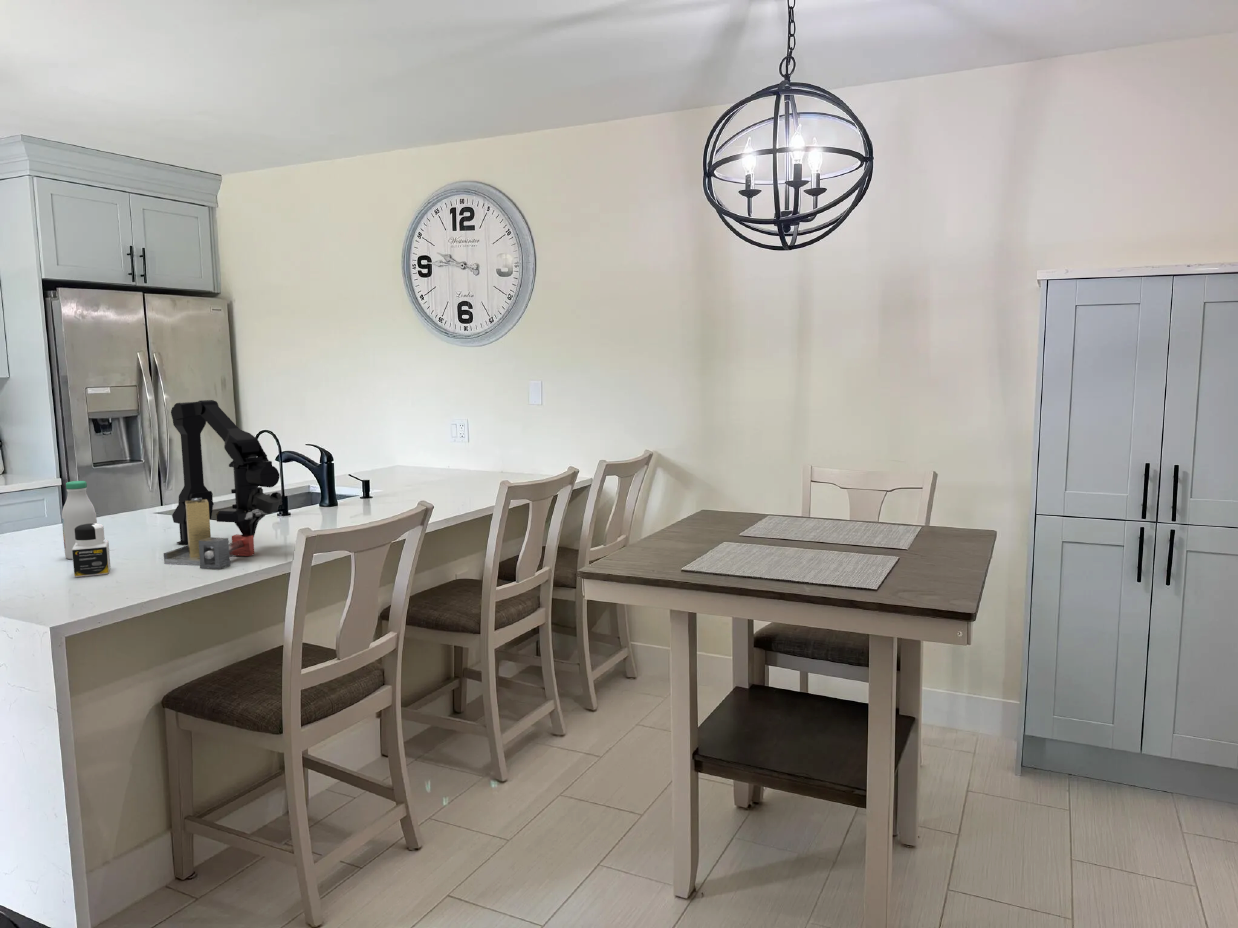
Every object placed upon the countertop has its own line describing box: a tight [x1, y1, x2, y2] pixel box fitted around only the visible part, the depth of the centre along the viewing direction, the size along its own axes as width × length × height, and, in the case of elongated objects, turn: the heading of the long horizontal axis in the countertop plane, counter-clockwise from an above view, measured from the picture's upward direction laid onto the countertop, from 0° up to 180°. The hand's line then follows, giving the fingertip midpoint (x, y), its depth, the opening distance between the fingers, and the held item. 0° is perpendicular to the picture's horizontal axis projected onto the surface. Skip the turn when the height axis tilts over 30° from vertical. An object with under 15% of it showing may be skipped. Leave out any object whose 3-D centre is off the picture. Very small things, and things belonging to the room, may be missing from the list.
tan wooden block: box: [185, 498, 212, 557], centre depth 221 cm, size 5×5×15 cm
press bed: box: [163, 544, 234, 566], centre depth 222 cm, size 12×12×3 cm
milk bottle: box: [61, 480, 98, 560], centre depth 224 cm, size 8×8×20 cm
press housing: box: [199, 536, 231, 570], centre depth 214 cm, size 6×4×7 cm
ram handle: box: [204, 534, 255, 559], centre depth 219 cm, size 5×15×5 cm, turn 169°
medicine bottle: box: [72, 522, 111, 578], centre depth 208 cm, size 7×7×12 cm
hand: (249, 542), depth 228 cm, fingers closed
